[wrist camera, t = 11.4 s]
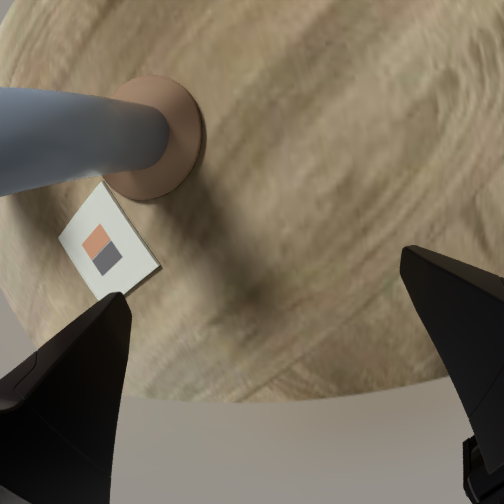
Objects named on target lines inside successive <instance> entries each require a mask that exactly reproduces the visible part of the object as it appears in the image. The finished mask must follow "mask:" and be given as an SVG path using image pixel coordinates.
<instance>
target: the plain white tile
mask: <svg viewBox="0 0 504 504" xmlns="http://www.w3.org/2000/svg"><path fill="white" fill-rule="evenodd" d="M58 239H59V240H60V242H61V244H62V246H63V247H64V249H65V250H66V252H67V254H68V255H69V257H70V259H71V260H72V262H73V263H74V265H75V267H76V268H77V270H78V271H79V273H80V274H81V276H82V277H83V279H84V280H85V282H86V283H87V285H88V286H89V288H90V289H91V291H92V292H93V293H94V295H95V296H96V298H97V299H98V301H99V300H101V299H102V298H103V297H105V296H106V295H107V294H109V293H111V292H122V293H123V295H124V294H125V293H126V292H127V291H129V290H130V289H131V288H132V287H133V286H135V285H136V284H137V283H138V282H140V281H141V280H142V279H143V278H144V277H146V276H147V275H148V274H149V273H151V272H152V271H153V270H154V269H156V268H157V267H158V266H159V265H160V264H159V262H158V261H157V259H156V258H155V257H154V255H153V254H152V252H151V251H150V250H149V248H148V247H147V245H146V244H145V242H144V241H143V240H142V238H141V237H140V235H139V234H138V232H137V231H136V229H135V228H134V227H133V225H132V224H131V222H130V221H129V219H128V218H127V216H126V215H125V213H124V212H123V210H122V209H121V207H120V206H119V204H118V203H117V201H116V199H115V198H114V196H113V195H112V193H111V192H110V190H109V189H108V187H107V185H106V184H105V182H104V181H101V182H100V184H99V185H98V186H97V187H96V188H95V190H94V191H93V192H92V193H91V195H90V196H89V197H88V198H87V200H86V201H85V202H84V203H83V205H82V206H81V207H80V209H79V210H78V211H77V213H76V214H75V215H74V217H73V218H72V219H71V221H70V222H69V223H68V225H67V226H66V227H65V229H64V230H63V232H62V233H61V234H60V236H59V237H58Z"/></svg>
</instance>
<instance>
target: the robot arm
mask: <svg viewBox="0 0 504 504" xmlns="http://www.w3.org/2000/svg"><path fill="white" fill-rule="evenodd" d="M400 275H401V278H402V280H403V282H404V284H405V286H406V289H407V291H408V293H409V295H410V298H411V300H412V302H413V305H414V307H415V309H416V311H417V313H418V315H419V317H420V319H421V321H422V322H423V324H424V326H425V328H426V330H427V332H428V334H429V335H430V337H431V339H432V341H433V343H434V345H435V347H436V349H437V351H438V353H439V355H440V357H441V359H442V361H443V363H444V365H445V367H446V369H447V371H448V373H449V375H450V378H451V380H452V382H453V384H454V386H455V388H456V391H457V393H458V395H459V397H460V400H461V402H462V404H463V407H464V409H465V411H466V414H467V416H468V418H469V422H470V424H471V427H472V429H473V432H474V434H475V435H473V436H472V437H471V438H468V439H467V440H466V441H464V442H463V488H464V490H465V494H466V496H467V497H468V498H469V499H470V501H471V502H472V504H504V278H503V277H499V276H498V275H495V274H492V273H490V272H487V271H485V270H482V269H480V268H477V267H474V266H472V265H469V264H466V263H464V262H461V261H458V260H456V259H453V258H450V257H447V256H445V255H442V254H439V253H436V252H433V251H431V250H428V249H425V248H422V247H419V246H416V245H411V246H405V247H404V248H403V249H402V254H401V262H400ZM131 324H132V313H131V310H130V308H129V306H128V304H127V301H126V299H125V297H124V295H123V293H122V292H111V293H109V294H107V295H106V296H105V297H103V298H102V299H101V300H99V301H98V302H97V303H95V304H94V305H93V306H92V307H90V308H89V309H88V310H86V311H85V312H84V313H83V314H81V315H80V316H79V317H77V318H76V319H75V320H74V321H72V322H71V323H70V324H69V325H67V326H66V327H65V328H64V329H62V330H61V331H60V332H59V333H57V334H56V335H55V336H54V337H52V338H51V339H50V340H49V341H48V342H46V343H45V344H44V345H43V346H41V347H40V348H39V349H38V351H36V352H34V353H33V354H32V355H31V356H29V357H28V358H27V359H26V360H25V361H23V362H22V363H21V364H20V365H18V366H17V367H16V368H14V369H13V370H12V371H11V372H9V373H8V374H7V375H6V376H4V377H3V378H1V379H0V504H110V487H111V472H112V461H113V453H114V444H115V436H116V428H117V421H118V413H119V407H120V401H121V395H122V389H123V383H124V378H125V372H126V367H127V361H128V354H129V344H130V334H131Z"/></svg>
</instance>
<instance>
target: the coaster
mask: <svg viewBox="0 0 504 504" xmlns="http://www.w3.org/2000/svg"><path fill="white" fill-rule="evenodd" d="M109 98H112V99H118V100H123V101H129V102H134V103H139V104H144V105H149V106H152V107H155V108H156V109H158V110H159V111H160V112H161V113H162V114H163V115H164V117H165V119H166V121H167V124H168V128H169V140H168V145H167V148H166V150H165V153H164V154H163V156H162V157H161V159H160V160H159V161H158V162H157V163H156V164H154V165H153V166H151V167H149V168H147V169H143V170H135V171H128V172H121V173H114V174H108V175H102V176H103V178H104V179H105V181H106V182H107V183H108V185H109V186H110V187H111V188H112V189H114V190H115V191H116V192H117V193H119V194H121V195H122V196H125V197H127V198H130V199H135V200H149V199H153V198H157V197H160V196H163V195H165V194H167V193H169V192H171V191H172V190H174V189H175V188H176V187H177V186H179V185H180V184H181V183H182V182H183V181H184V180H185V178H186V177H187V176H188V174H189V173H190V171H191V170H192V168H193V166H194V164H195V162H196V160H197V157H198V154H199V151H200V146H201V141H202V122H201V117H200V113H199V110H198V107H197V105H196V103H195V100H194V99H193V97H192V96H191V94H190V93H189V92H188V91H187V90H186V89H185V88H184V87H183V86H182V85H180V84H179V83H177V82H175V81H174V80H171V79H169V78H166V77H163V76H157V75H147V76H141V77H137V78H134V79H132V80H130V81H128V82H126V83H125V84H123V85H122V86H121V87H119V88H118V89H117V90H116V91H115V92H114V93H113V94H112V95H111V96H110V97H109Z"/></svg>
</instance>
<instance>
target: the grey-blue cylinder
mask: <svg viewBox="0 0 504 504" xmlns="http://www.w3.org/2000/svg"><path fill="white" fill-rule="evenodd" d="M168 140H169V128H168V124H167V121H166V119H165V117H164V115H163V114H162V113H161V112H160V111H159V110H158V109H156V108H155V107H152V106H149V105H144V104H139V103H134V102H129V101H123V100H118V99H112V98H106V97H100V96H93V95H86V94H79V93H71V92H63V91H53V90H42V89H30V88H13V87H0V197H2V196H5V195H9V194H13V193H17V192H22V191H26V190H30V189H34V188H39V187H43V186H48V185H53V184H58V183H63V182H68V181H73V180H78V179H84V178H90V177H96V176H102V175H108V174H114V173H121V172H128V171H135V170H143V169H147V168H149V167H151V166H153V165H154V164H156V163H157V162H158V161H159V160H160V159H161V157H162V156H163V154H164V153H165V150H166V148H167V145H168Z"/></svg>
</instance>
